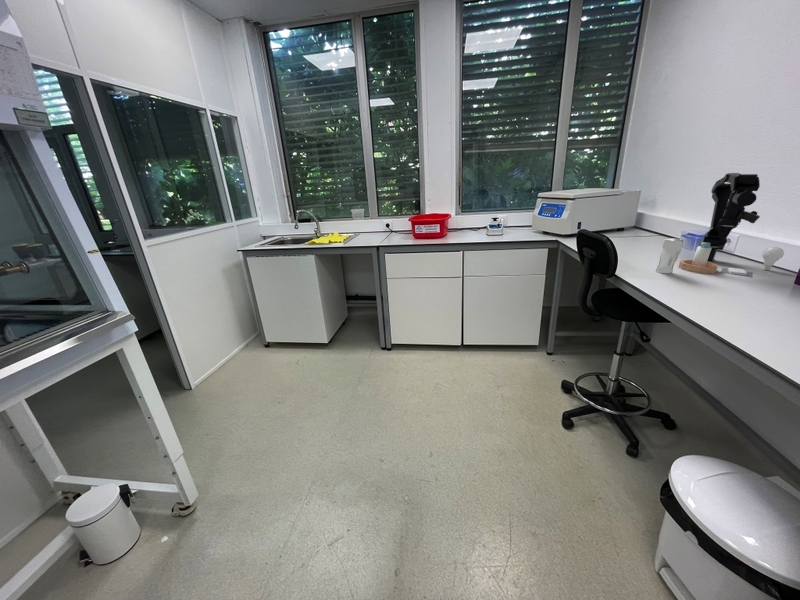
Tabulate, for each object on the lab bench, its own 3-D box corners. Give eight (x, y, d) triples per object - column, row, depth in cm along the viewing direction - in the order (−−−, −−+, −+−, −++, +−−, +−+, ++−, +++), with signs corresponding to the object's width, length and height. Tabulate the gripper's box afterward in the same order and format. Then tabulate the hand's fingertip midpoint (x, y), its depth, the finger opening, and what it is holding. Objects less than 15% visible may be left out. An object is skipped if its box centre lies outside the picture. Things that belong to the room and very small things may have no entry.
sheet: (727, 269, 146) (728, 267, 146) (742, 271, 144) (743, 269, 143) (730, 273, 141) (731, 271, 141) (746, 275, 138) (747, 273, 138)
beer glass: (666, 269, 149) (677, 237, 143) (677, 274, 142) (688, 241, 137) (650, 269, 150) (660, 237, 144) (660, 274, 143) (670, 241, 137)
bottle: (695, 266, 151) (704, 241, 146) (706, 269, 146) (716, 243, 142) (687, 267, 150) (696, 242, 145) (698, 270, 145) (707, 244, 141)
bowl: (680, 264, 157) (683, 258, 155) (716, 269, 148) (719, 263, 147) (676, 270, 148) (678, 263, 147) (714, 276, 140) (716, 269, 138)
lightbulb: (771, 269, 147) (782, 246, 142) (778, 273, 141) (789, 249, 137) (752, 268, 149) (762, 244, 145) (759, 271, 144) (769, 247, 140)
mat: (721, 268, 149) (722, 267, 149) (752, 273, 142) (752, 272, 142) (720, 273, 143) (720, 272, 143) (752, 278, 136) (752, 277, 136)
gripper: (761, 207, 129) (746, 245, 135) (763, 204, 141) (749, 239, 146) (723, 205, 137) (711, 241, 142) (728, 203, 148) (716, 236, 154)
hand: (723, 240), depth 146 cm, fingers open, 9 cm apart
